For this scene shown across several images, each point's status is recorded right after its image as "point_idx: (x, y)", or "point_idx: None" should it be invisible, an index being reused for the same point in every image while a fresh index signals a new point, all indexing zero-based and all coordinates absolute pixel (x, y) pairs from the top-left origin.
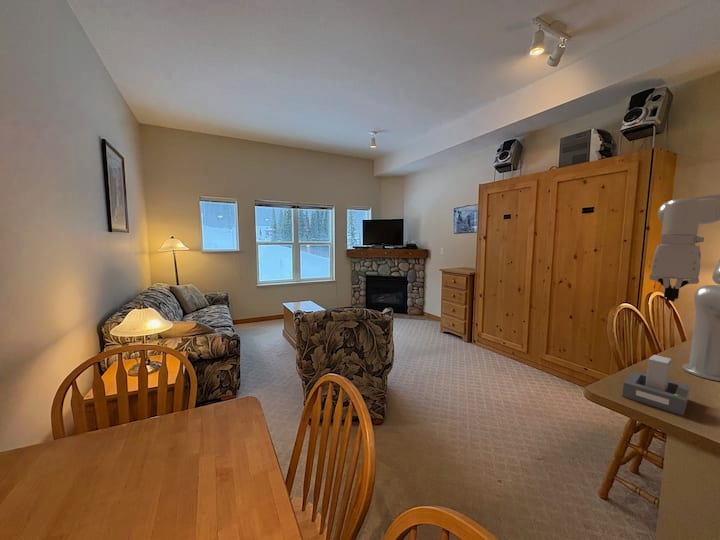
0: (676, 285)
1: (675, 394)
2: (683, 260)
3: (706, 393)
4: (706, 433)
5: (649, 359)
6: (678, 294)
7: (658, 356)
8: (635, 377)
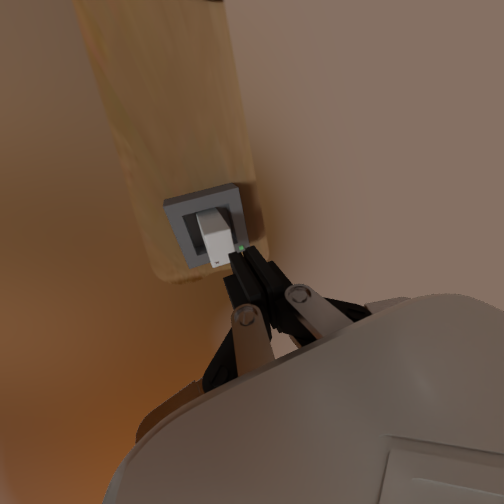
0: (301, 342)
1: (240, 247)
2: None
3: (237, 122)
4: (265, 254)
5: (213, 267)
6: (280, 273)
7: (214, 240)
8: (185, 235)
